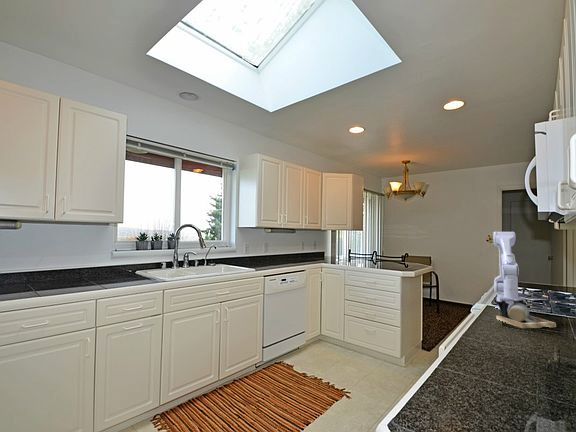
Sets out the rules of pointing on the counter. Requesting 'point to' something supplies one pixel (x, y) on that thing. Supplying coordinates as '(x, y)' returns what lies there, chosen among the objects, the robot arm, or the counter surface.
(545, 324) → the bent wooden beam
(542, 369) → the counter surface
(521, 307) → the ceramic mug
